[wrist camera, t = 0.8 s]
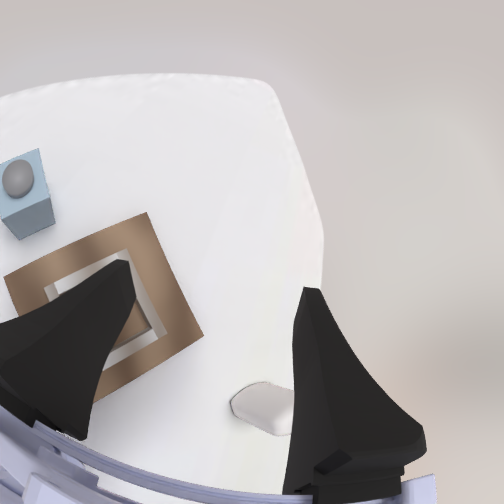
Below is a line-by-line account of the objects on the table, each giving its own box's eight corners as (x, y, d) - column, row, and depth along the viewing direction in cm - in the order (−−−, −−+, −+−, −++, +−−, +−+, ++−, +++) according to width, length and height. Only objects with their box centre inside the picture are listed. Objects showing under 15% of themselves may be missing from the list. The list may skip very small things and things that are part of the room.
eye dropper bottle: (265, 414, 30) (344, 444, 20) (226, 415, 27) (305, 455, 17) (272, 382, 31) (354, 403, 22) (233, 379, 28) (317, 408, 19)
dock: (75, 409, 18) (76, 419, 16) (6, 277, 16) (-1, 275, 14) (199, 334, 27) (211, 337, 25) (143, 214, 25) (150, 207, 23)
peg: (19, 240, 18) (-3, 215, 11) (8, 200, 17) (-11, 161, 11) (55, 223, 20) (49, 191, 14) (44, 184, 20) (38, 141, 13)
